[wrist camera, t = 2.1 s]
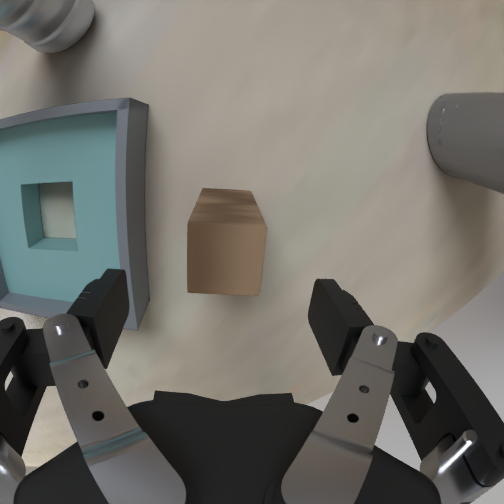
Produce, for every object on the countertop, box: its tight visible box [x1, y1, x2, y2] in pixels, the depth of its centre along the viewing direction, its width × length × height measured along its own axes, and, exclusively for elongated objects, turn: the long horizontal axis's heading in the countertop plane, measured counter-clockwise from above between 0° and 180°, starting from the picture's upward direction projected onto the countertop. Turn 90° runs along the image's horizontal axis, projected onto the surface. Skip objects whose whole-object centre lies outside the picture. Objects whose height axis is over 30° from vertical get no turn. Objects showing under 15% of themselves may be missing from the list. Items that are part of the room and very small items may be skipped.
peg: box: [187, 188, 267, 296], centre depth 20 cm, size 4×4×10 cm
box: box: [0, 98, 150, 330], centre depth 20 cm, size 17×18×5 cm
